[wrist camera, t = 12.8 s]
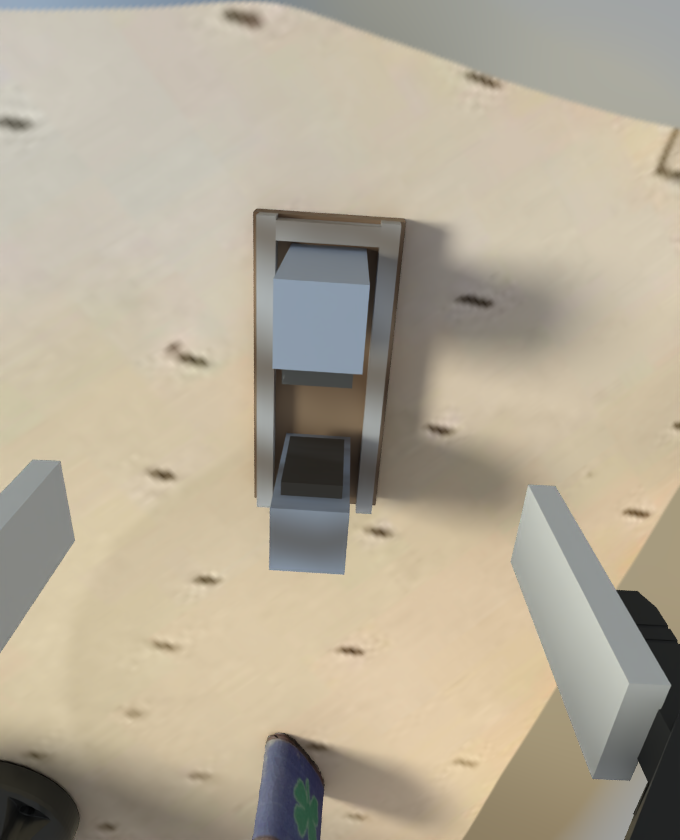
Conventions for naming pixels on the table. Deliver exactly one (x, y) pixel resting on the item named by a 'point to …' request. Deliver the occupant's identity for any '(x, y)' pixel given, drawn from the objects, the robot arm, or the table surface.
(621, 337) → the table surface
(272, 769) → the flask
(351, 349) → the blue-grey rectangular block
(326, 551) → the rail board
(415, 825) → the table surface
